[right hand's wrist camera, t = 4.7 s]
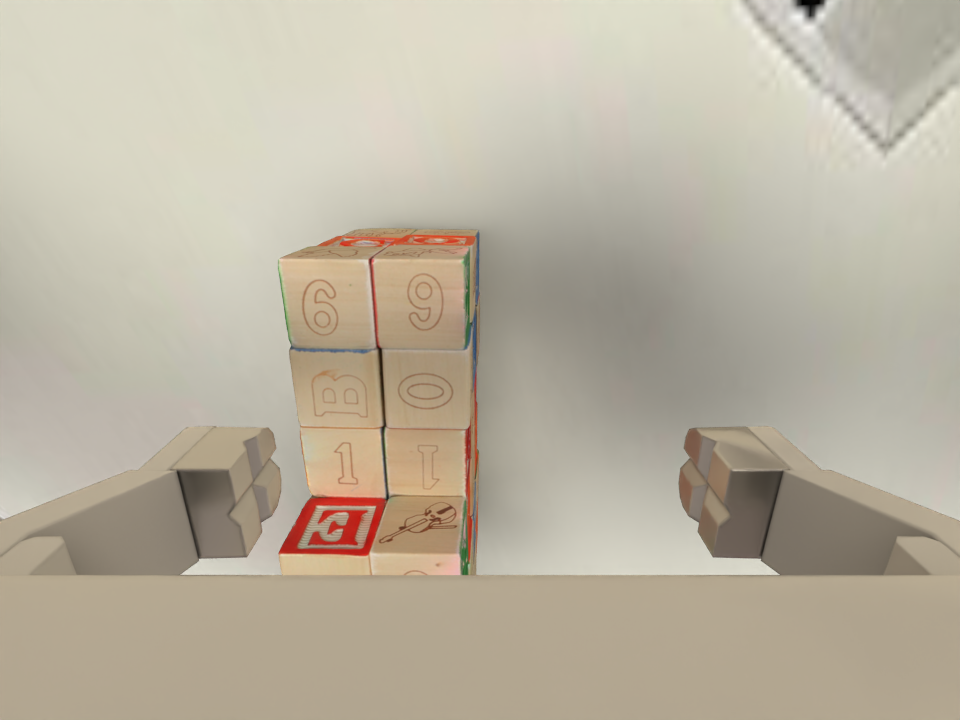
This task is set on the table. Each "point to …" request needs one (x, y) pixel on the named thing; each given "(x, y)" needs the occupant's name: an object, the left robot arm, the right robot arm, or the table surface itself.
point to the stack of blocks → (385, 402)
